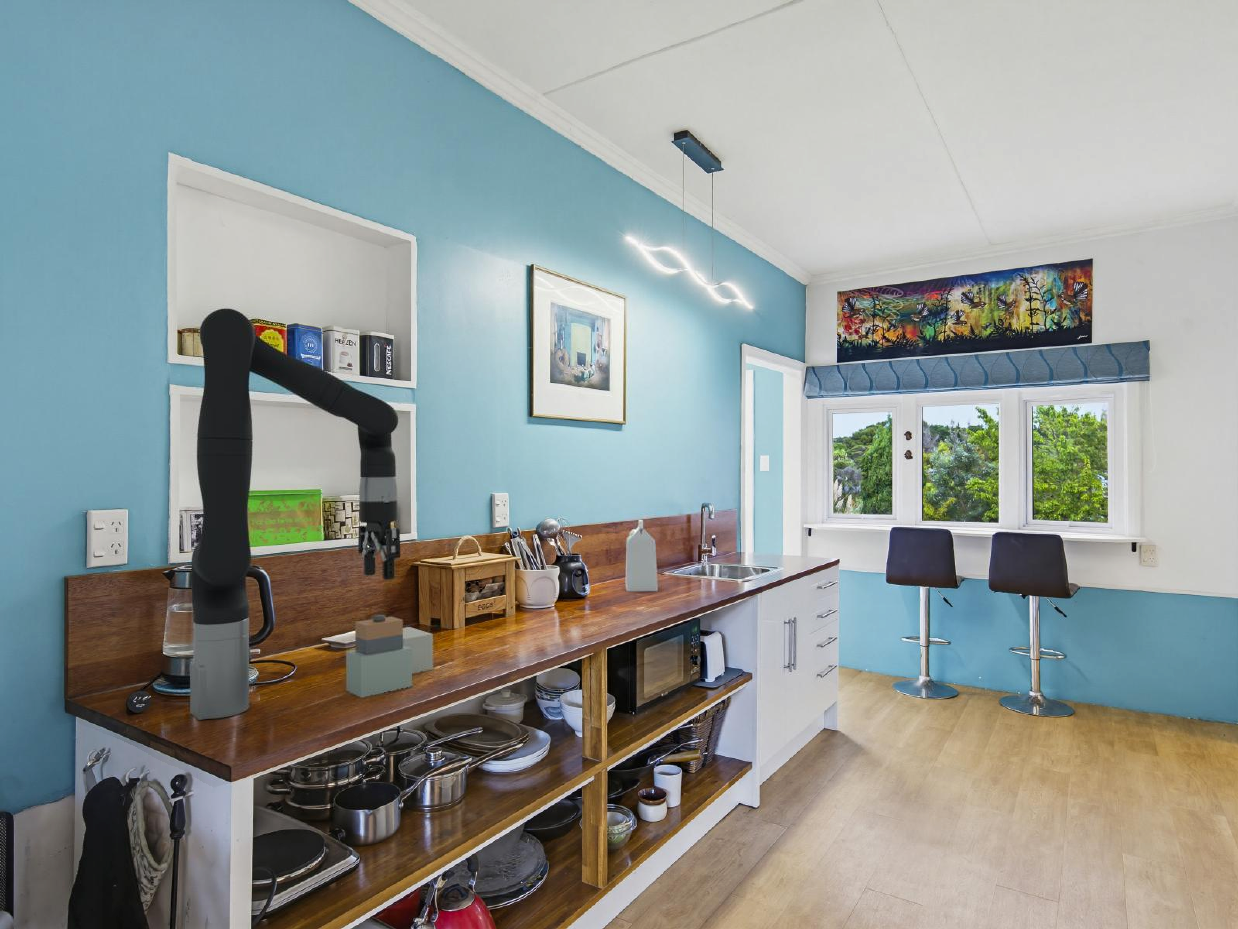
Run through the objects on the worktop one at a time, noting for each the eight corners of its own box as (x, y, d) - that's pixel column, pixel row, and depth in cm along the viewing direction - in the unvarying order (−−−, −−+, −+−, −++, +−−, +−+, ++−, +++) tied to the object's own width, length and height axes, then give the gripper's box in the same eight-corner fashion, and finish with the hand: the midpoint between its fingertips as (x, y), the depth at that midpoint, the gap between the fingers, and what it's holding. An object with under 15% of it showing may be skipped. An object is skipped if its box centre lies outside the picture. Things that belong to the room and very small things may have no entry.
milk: (657, 591, 277) (657, 521, 277) (627, 591, 276) (626, 521, 276) (654, 586, 289) (654, 519, 289) (625, 586, 288) (624, 519, 288)
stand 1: (361, 697, 147) (361, 657, 147) (346, 690, 152) (346, 651, 153) (412, 686, 155) (411, 648, 155) (396, 679, 160) (396, 642, 160)
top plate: (366, 640, 149) (366, 620, 149) (355, 636, 153) (355, 617, 153) (402, 634, 155) (402, 615, 155) (391, 630, 158) (391, 611, 158)
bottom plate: (366, 655, 149) (366, 640, 149) (355, 651, 153) (355, 636, 153) (402, 648, 155) (402, 634, 155) (391, 644, 158) (391, 630, 158)
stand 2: (404, 675, 164) (404, 639, 164) (381, 666, 172) (381, 631, 172) (432, 669, 168) (432, 634, 168) (409, 660, 176) (409, 627, 176)
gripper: (346, 499, 157) (346, 575, 157) (376, 500, 146) (377, 582, 146) (379, 497, 162) (380, 572, 162) (411, 499, 152) (412, 578, 151)
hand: (378, 577), depth 154 cm, fingers open, 8 cm apart
